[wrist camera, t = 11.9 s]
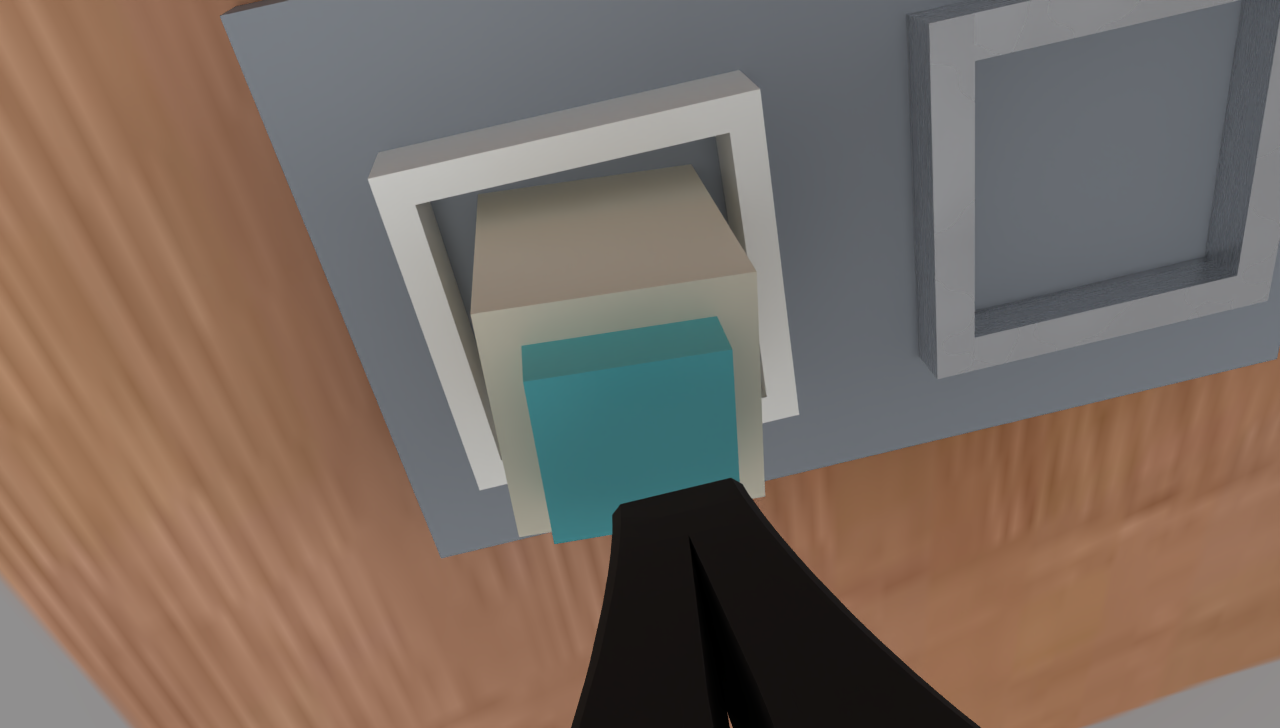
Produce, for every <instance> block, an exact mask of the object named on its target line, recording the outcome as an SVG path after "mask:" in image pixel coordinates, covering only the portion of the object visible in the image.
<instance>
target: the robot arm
mask: <svg viewBox="0 0 1280 728" xmlns="http://www.w3.org/2000/svg"><path fill="white" fill-rule="evenodd" d="M727 712H728V714H727ZM728 715H729V718H730V721H731V724H732V727H733V728H981V727H979V726H978V725H977V724H976V723H974V722H973V721H972V720H971V719H969V718H968V717H967V716H966V715H964V714H963V713H962V712H961V711H959V710H958V709H957V708H956V707H955V706H953V705H952V704H951V703H950V702H949V701H947V700H946V699H945V698H944V697H943V696H942V695H940V694H939V693H938V692H937V691H936V690H934V689H933V688H932V687H931V686H930V685H929V684H928V683H926V682H925V681H924V680H923V679H922V678H921V677H920V676H918V675H917V674H916V673H915V672H914V671H913V670H912V669H911V668H909V667H908V666H907V665H906V664H905V663H904V662H903V661H902V660H901V659H900V658H899V657H897V656H896V655H895V654H894V653H893V652H892V651H891V650H890V649H889V648H888V647H886V646H885V645H884V644H883V643H882V642H881V641H880V640H879V639H878V638H877V637H876V636H875V635H874V634H873V633H872V632H871V631H870V630H868V629H867V628H866V627H865V626H864V625H863V624H862V623H861V622H860V621H859V620H858V619H857V618H856V617H855V616H854V615H853V614H852V613H851V612H850V611H849V610H848V609H847V608H846V607H845V606H844V605H843V604H842V603H841V602H840V600H839V599H838V598H837V597H836V596H835V595H834V594H833V593H832V592H831V591H830V590H829V589H828V588H827V587H826V586H825V585H824V584H823V583H822V582H821V581H820V580H819V579H818V578H817V577H816V576H815V575H814V574H813V572H812V571H811V570H810V569H809V568H808V567H807V566H806V565H805V564H804V562H803V561H802V560H801V559H800V558H799V557H798V556H797V555H796V553H795V552H794V551H793V550H792V549H791V548H790V546H789V545H788V544H787V543H786V542H785V541H784V539H783V538H782V537H781V536H780V535H779V533H778V532H777V531H776V530H775V529H774V527H773V526H772V525H771V524H770V522H769V521H768V520H767V518H766V517H765V516H764V515H763V513H762V512H761V511H760V509H759V508H758V506H757V505H756V504H755V502H754V501H753V499H752V498H751V497H750V495H749V494H748V492H747V491H746V489H745V487H744V486H743V484H742V483H740V482H738V481H736V480H735V479H733V478H727V479H723V480H719V481H715V482H711V483H706V484H702V485H698V486H694V487H690V488H686V489H681V490H677V491H673V492H669V493H665V494H660V495H656V496H652V497H648V498H644V499H640V500H635V501H631V502H627V503H623V504H620V505H619V507H618V508H617V509H616V510H615V512H614V513H613V514H612V544H611V555H610V563H609V570H608V577H607V583H606V589H605V595H604V601H603V606H602V610H601V615H600V619H599V624H598V628H597V633H596V637H595V642H594V646H593V651H592V655H591V660H590V664H589V668H588V672H587V675H586V679H585V683H584V686H583V689H582V693H581V696H580V700H579V703H578V706H577V710H576V713H575V716H574V720H573V723H572V727H571V728H730V726H729V720H728Z"/></svg>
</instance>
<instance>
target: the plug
mask: <svg viewBox="0 0 1280 728" xmlns="http://www.w3.org/2000/svg"><path fill="white" fill-rule="evenodd" d="M470 315H471V319H472V324H473V328H474V333H475V338H476V342H477V347H478V351H479V356H480V361H481V365H482V370H483V374H484V379H485V383H486V388H487V393H488V397H489V402H490V406H491V411H492V415H493V420H494V425H495V429H496V434H497V438H498V443H499V447H500V452H501V457H502V461H503V466H504V470H505V475H506V480H507V484H508V489H509V493H510V498H511V502H512V507H513V512H514V516H515V521H516V525H517V530H518V534H519V537H524V536H530V535H536V534H542V533H548V532H552V535H553V540H554V544H558V543H564V542H570V541H576V540H582V539H588V538H594V537H600V536H606V535H612V514H613V513H614V512H615V510H616V509H617V508H618V507H619V505H620V504H623V503H627V502H631V501H635V500H640V499H644V498H648V497H652V496H656V495H660V494H665V493H669V492H673V491H677V490H681V489H686V488H690V487H694V486H698V485H702V484H706V483H711V482H715V481H719V480H723V479H727V478H733V479H735V480H736V481H738V482H740V483H742V484H743V486H744V487H745V489H746V491H747V492H748V494H749V495H750V497H751V498H752V499H753V498H759V497H765V481H764V454H763V427H762V400H761V373H760V346H759V320H758V293H757V271H756V270H755V268H754V266H753V265H752V263H751V261H750V260H749V258H748V256H747V255H746V253H745V252H744V250H743V248H742V247H741V245H740V243H739V242H738V240H737V238H736V237H735V235H734V234H733V232H732V230H731V229H730V227H729V225H728V224H727V222H726V220H725V219H724V217H723V215H722V214H721V212H720V211H719V209H718V207H717V206H716V204H715V202H714V201H713V199H712V197H711V196H710V194H709V193H708V191H707V189H706V188H705V186H704V184H703V183H702V181H701V179H700V178H699V176H698V174H697V173H696V171H695V170H694V168H693V166H692V165H691V164H689V165H682V166H675V167H668V168H661V169H654V170H647V171H640V172H632V173H625V174H618V175H611V176H604V177H597V178H590V179H583V180H575V181H568V182H561V183H554V184H547V185H540V186H533V187H526V188H518V189H511V190H504V191H497V192H490V193H483V194H478V202H477V218H476V234H475V250H474V265H473V281H472V297H471V313H470Z"/></svg>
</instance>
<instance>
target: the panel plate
mask: <svg viewBox="0 0 1280 728" xmlns="http://www.w3.org/2000/svg"><path fill="white" fill-rule="evenodd" d="M962 1H967V0H263V1H259V2H254V3H250V4H245V5H241V6H236V7H234V8H232V9H231V10H229V11H227V12H226V13H224V14H222V15H220V18H221V20H222V23H223V25H224V28H225V30H226V32H227V35H228V37H229V40H230V42H231V45H232V47H233V50H234V52H235V55H236V57H237V59H238V62H239V64H240V67H241V69H242V72H243V74H244V77H245V79H246V81H247V84H248V86H249V89H250V91H251V94H252V96H253V99H254V101H255V104H256V106H257V108H258V111H259V113H260V116H261V118H262V121H263V123H264V126H265V128H266V130H267V133H268V135H269V138H270V140H271V143H272V145H273V148H274V150H275V153H276V155H277V157H278V160H279V162H280V165H281V167H282V170H283V172H284V175H285V177H286V179H287V182H288V184H289V187H290V189H291V192H292V194H293V197H294V199H295V202H296V204H297V206H298V209H299V211H300V214H301V216H302V219H303V221H304V224H305V226H306V228H307V231H308V233H309V236H310V238H311V241H312V243H313V246H314V248H315V251H316V253H317V255H318V258H319V260H320V263H321V265H322V268H323V270H324V273H325V275H326V277H327V280H328V282H329V285H330V287H331V290H332V292H333V295H334V297H335V299H336V302H337V304H338V307H339V309H340V312H341V314H342V317H343V319H344V322H345V324H346V326H347V329H348V331H349V334H350V336H351V339H352V341H353V344H354V346H355V348H356V351H357V353H358V356H359V358H360V361H361V363H362V366H363V368H364V371H365V373H366V375H367V378H368V380H369V383H370V385H371V388H372V390H373V393H374V395H375V397H376V400H377V402H378V405H379V407H380V410H381V412H382V415H383V417H384V420H385V422H386V424H387V427H388V429H389V432H390V434H391V437H392V439H393V442H394V444H395V446H396V449H397V451H398V454H399V456H400V459H401V461H402V464H403V466H404V469H405V471H406V473H407V476H408V478H409V481H410V483H411V486H412V488H413V491H414V493H415V495H416V498H417V500H418V503H419V505H420V508H421V510H422V513H423V515H424V518H425V520H426V522H427V525H428V527H429V530H430V532H431V535H432V537H433V540H434V542H435V544H436V547H437V549H438V552H439V554H440V557H441V558H445V557H449V556H453V555H457V554H461V553H466V552H470V551H474V550H478V549H482V548H487V547H491V546H495V545H499V544H503V543H507V542H512V541H516V540H520V539H524V538H528V537H533V536H537V535H541V534H536V535H530V536H524V537H519V534H518V530H517V525H516V521H515V516H514V512H513V507H512V502H511V498H510V493H509V489H508V484H505V485H501V486H496V487H492V488H488V489H484V490H479V487H478V484H477V482H476V479H475V476H474V473H473V470H472V468H471V465H470V462H469V459H468V457H467V454H466V451H465V448H464V445H463V443H462V440H461V437H460V434H459V432H458V429H457V426H456V423H455V420H454V418H453V415H452V412H451V409H450V407H449V404H448V401H447V398H446V395H445V393H444V390H443V387H442V384H441V382H440V379H439V376H438V373H437V370H436V368H435V365H434V362H433V359H432V357H431V354H430V351H429V348H428V345H427V343H426V340H425V337H424V334H423V331H422V329H421V326H420V323H419V320H418V318H417V315H416V312H415V309H414V306H413V304H412V301H411V298H410V295H409V293H408V290H407V287H406V284H405V281H404V279H403V276H402V273H401V270H400V268H399V265H398V262H397V259H396V256H395V254H394V251H393V248H392V245H391V243H390V240H389V237H388V234H387V231H386V229H385V226H384V223H383V220H382V218H381V215H380V212H379V209H378V206H377V204H376V201H375V198H374V195H373V193H372V190H371V187H370V184H369V181H368V177H369V174H370V172H371V169H372V167H373V164H374V162H375V159H376V157H377V154H378V152H383V151H387V150H391V149H396V148H400V147H405V146H409V145H413V144H418V143H422V142H426V141H431V140H435V139H440V138H444V137H448V136H453V135H457V134H461V133H466V132H470V131H474V130H479V129H483V128H488V127H492V126H496V125H501V124H505V123H509V122H514V121H518V120H523V119H527V118H531V117H536V116H540V115H544V114H549V113H553V112H558V111H562V110H566V109H571V108H575V107H579V106H584V105H588V104H593V103H597V102H601V101H606V100H610V99H614V98H619V97H623V96H627V95H632V94H636V93H641V92H645V91H649V90H654V89H658V88H662V87H667V86H671V85H676V84H680V83H684V82H689V81H693V80H697V79H702V78H706V77H711V76H715V75H719V74H724V73H728V72H732V71H737V70H740V71H741V72H742V73H743V74H744V75H745V76H747V77H748V78H749V79H750V80H751V81H752V82H753V83H754V84H755V85H756V86H757V87H759V88H760V92H761V100H762V108H763V117H764V125H765V133H766V142H767V150H768V158H769V167H770V175H771V183H772V192H773V200H774V208H775V217H776V225H777V233H778V242H779V250H780V258H781V267H782V275H783V284H784V292H785V300H786V309H787V317H788V325H789V334H790V342H791V350H792V359H793V367H794V375H795V384H796V392H797V400H798V409H799V415H796V416H791V417H787V418H783V419H779V420H775V421H770V422H766V423H762V427H763V454H764V481H767V480H771V479H776V478H780V477H784V476H788V475H792V474H797V473H801V472H805V471H809V470H813V469H817V468H822V467H826V466H830V465H834V464H838V463H843V462H847V461H851V460H855V459H859V458H864V457H868V456H872V455H876V454H880V453H885V452H889V451H893V450H897V449H901V448H905V447H910V446H914V445H918V444H922V443H926V442H931V441H935V440H939V439H943V438H947V437H952V436H956V435H960V434H964V433H968V432H972V431H977V430H981V429H985V428H989V427H993V426H998V425H1002V424H1006V423H1010V422H1014V421H1019V420H1023V419H1027V418H1031V417H1035V416H1040V415H1044V414H1048V413H1052V412H1056V411H1060V410H1065V409H1069V408H1073V407H1077V406H1081V405H1086V404H1090V403H1094V402H1098V401H1102V400H1107V399H1111V398H1115V397H1119V396H1123V395H1127V394H1132V393H1136V392H1140V391H1144V390H1148V389H1153V388H1157V387H1161V386H1165V385H1169V384H1174V383H1178V382H1182V381H1186V380H1190V379H1195V378H1199V377H1203V376H1207V375H1211V374H1215V373H1220V372H1224V371H1228V370H1232V369H1236V368H1241V367H1245V366H1249V365H1253V364H1257V363H1262V362H1266V361H1270V360H1274V359H1277V356H1278V351H1279V346H1280V240H1279V245H1278V250H1277V256H1276V261H1275V266H1274V271H1273V277H1272V282H1271V287H1270V292H1269V298H1268V301H1265V302H1261V303H1257V304H1253V305H1249V306H1244V307H1240V308H1236V309H1232V310H1228V311H1223V312H1219V313H1215V314H1211V315H1206V316H1202V317H1198V318H1194V319H1190V320H1185V321H1181V322H1177V323H1173V324H1169V325H1164V326H1160V327H1156V328H1152V329H1147V330H1143V331H1139V332H1135V333H1131V334H1126V335H1122V336H1118V337H1114V338H1110V339H1105V340H1101V341H1097V342H1093V343H1088V344H1084V345H1080V346H1076V347H1072V348H1067V349H1063V350H1059V351H1055V352H1051V353H1046V354H1042V355H1038V356H1034V357H1029V358H1025V359H1021V360H1017V361H1013V362H1008V363H1004V364H1000V365H996V366H991V367H987V368H983V369H979V370H975V371H970V372H966V373H962V374H958V375H954V376H949V377H945V378H941V379H937V378H936V377H935V376H934V374H933V373H932V372H931V371H930V370H929V368H928V367H927V366H926V365H925V363H924V362H923V361H922V360H921V359H920V357H919V356H918V329H917V301H916V273H915V245H914V217H913V189H912V161H911V134H910V106H909V78H908V50H907V22H906V14H910V13H914V12H918V11H923V10H927V9H932V8H936V7H940V6H945V5H949V4H953V3H958V2H962ZM1241 1H1242V0H1238V1H1234V2H1230V3H1225V4H1221V5H1217V6H1212V7H1208V8H1204V9H1199V10H1195V11H1191V12H1186V13H1182V14H1178V15H1173V16H1169V17H1164V18H1160V19H1156V20H1151V21H1147V22H1143V23H1138V24H1134V25H1130V26H1125V27H1121V28H1117V29H1112V30H1108V31H1104V32H1099V33H1095V34H1091V35H1086V36H1082V37H1077V38H1073V39H1069V40H1064V41H1060V42H1056V43H1051V44H1047V45H1043V46H1038V47H1034V48H1030V49H1025V50H1021V51H1017V52H1012V53H1008V54H1004V55H999V56H995V57H990V58H986V59H982V60H977V61H975V311H977V310H981V309H986V308H990V307H994V306H998V305H1003V304H1007V303H1011V302H1015V301H1019V300H1024V299H1028V298H1032V297H1036V296H1041V295H1045V294H1049V293H1053V292H1058V291H1062V290H1066V289H1070V288H1075V287H1079V286H1083V285H1087V284H1092V283H1096V282H1100V281H1104V280H1109V279H1113V278H1117V277H1121V276H1125V275H1130V274H1134V273H1138V272H1142V271H1147V270H1151V269H1155V268H1159V267H1164V266H1168V265H1172V264H1176V263H1181V262H1185V261H1189V260H1193V259H1198V258H1202V257H1205V250H1206V243H1207V236H1208V229H1209V222H1210V215H1211V208H1212V201H1213V195H1214V188H1215V181H1216V174H1217V167H1218V160H1219V153H1220V146H1221V139H1222V132H1223V125H1224V119H1225V112H1226V105H1227V98H1228V91H1229V84H1230V77H1231V70H1232V63H1233V56H1234V49H1235V43H1236V36H1237V29H1238V22H1239V15H1240V8H1241ZM689 164H691V165H692V166H693V168H694V170H695V171H696V173H697V174H698V176H699V178H700V179H701V181H702V183H703V184H704V186H705V188H706V189H707V191H708V193H709V194H710V196H711V197H712V199H713V201H714V202H715V204H716V206H717V207H718V209H719V211H720V212H721V214H722V215H723V217H724V219H725V220H726V222H727V224H728V225H729V223H728V216H727V210H726V203H725V196H724V189H723V183H722V176H721V169H720V163H719V156H718V149H717V142H716V136H713V137H708V138H704V139H699V140H695V141H691V142H686V143H682V144H678V145H673V146H669V147H665V148H660V149H656V150H652V151H647V152H643V153H639V154H634V155H630V156H626V157H621V158H617V159H613V160H608V161H604V162H600V163H595V164H591V165H587V166H582V167H578V168H573V169H569V170H565V171H560V172H556V173H552V174H547V175H543V176H539V177H534V178H530V179H526V180H521V181H517V182H513V183H508V184H504V185H500V186H495V187H491V188H487V189H482V190H478V191H474V192H469V193H465V194H461V195H456V196H452V197H448V198H443V199H439V200H434V201H430V203H431V206H432V210H433V213H434V216H435V219H436V222H437V225H438V228H439V231H440V234H441V237H442V240H443V243H444V246H445V249H446V252H447V255H448V258H449V261H450V265H451V268H452V271H453V274H454V277H455V280H456V283H457V286H458V289H459V292H460V295H461V298H462V301H463V304H464V307H465V310H466V313H467V316H468V320H469V323H470V326H471V329H472V332H473V335H474V338H475V333H474V328H473V324H472V319H471V315H470V313H471V297H472V281H473V265H474V250H475V234H476V218H477V202H478V194H483V193H490V192H497V191H504V190H511V189H518V188H526V187H533V186H540V185H547V184H554V183H561V182H568V181H575V180H583V179H590V178H597V177H604V176H611V175H618V174H625V173H632V172H640V171H647V170H654V169H661V168H668V167H675V166H682V165H689ZM475 341H476V338H475ZM476 344H477V342H476ZM548 533H549V532H548ZM542 534H545V533H542Z"/></svg>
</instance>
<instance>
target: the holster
mask: <svg viewBox="0 0 1280 728" xmlns="http://www.w3.org/2000/svg"><path fill="white" fill-rule="evenodd" d="M1234 1H1238V0H967V1H962V2H958V3H953V4H949V5H945V6H940V7H936V8H932V9H927V10H923V11H918V12H914V13H910V14H906V22H907V50H908V78H909V106H910V134H911V161H912V189H913V217H914V245H915V273H916V301H917V329H918V356H919V357H920V359H921V360H922V361H923V362H924V363H925V365H926V366H927V367H928V368H929V370H930V371H931V372H932V373H933V374H934V376H935V377H936V378H937V379H941V378H945V377H949V376H954V375H958V374H962V373H966V372H970V371H975V370H979V369H983V368H987V367H991V366H996V365H1000V364H1004V363H1008V362H1013V361H1017V360H1021V359H1025V358H1029V357H1034V356H1038V355H1042V354H1046V353H1051V352H1055V351H1059V350H1063V349H1067V348H1072V347H1076V346H1080V345H1084V344H1088V343H1093V342H1097V341H1101V340H1105V339H1110V338H1114V337H1118V336H1122V335H1126V334H1131V333H1135V332H1139V331H1143V330H1147V329H1152V328H1156V327H1160V326H1164V325H1169V324H1173V323H1177V322H1181V321H1185V320H1190V319H1194V318H1198V317H1202V316H1206V315H1211V314H1215V313H1219V312H1223V311H1228V310H1232V309H1236V308H1240V307H1244V306H1249V305H1253V304H1257V303H1261V302H1265V301H1268V298H1269V292H1270V287H1271V282H1272V277H1273V271H1274V266H1275V261H1276V256H1277V250H1278V245H1279V240H1280V0H1242V1H1241V8H1240V15H1239V22H1238V29H1237V36H1236V43H1235V49H1234V56H1233V63H1232V70H1231V77H1230V84H1229V91H1228V98H1227V105H1226V112H1225V119H1224V125H1223V132H1222V139H1221V146H1220V153H1219V160H1218V167H1217V174H1216V181H1215V188H1214V195H1213V201H1212V208H1211V215H1210V222H1209V229H1208V236H1207V243H1206V250H1205V257H1202V258H1198V259H1193V260H1189V261H1185V262H1181V263H1176V264H1172V265H1168V266H1164V267H1159V268H1155V269H1151V270H1147V271H1142V272H1138V273H1134V274H1130V275H1125V276H1121V277H1117V278H1113V279H1109V280H1104V281H1100V282H1096V283H1092V284H1087V285H1083V286H1079V287H1075V288H1070V289H1066V290H1062V291H1058V292H1053V293H1049V294H1045V295H1041V296H1036V297H1032V298H1028V299H1024V300H1019V301H1015V302H1011V303H1007V304H1003V305H998V306H994V307H990V308H986V309H981V310H977V311H975V61H977V60H982V59H986V58H990V57H995V56H999V55H1004V54H1008V53H1012V52H1017V51H1021V50H1025V49H1030V48H1034V47H1038V46H1043V45H1047V44H1051V43H1056V42H1060V41H1064V40H1069V39H1073V38H1077V37H1082V36H1086V35H1091V34H1095V33H1099V32H1104V31H1108V30H1112V29H1117V28H1121V27H1125V26H1130V25H1134V24H1138V23H1143V22H1147V21H1151V20H1156V19H1160V18H1164V17H1169V16H1173V15H1178V14H1182V13H1186V12H1191V11H1195V10H1199V9H1204V8H1208V7H1212V6H1217V5H1221V4H1225V3H1230V2H1234Z"/></svg>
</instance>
